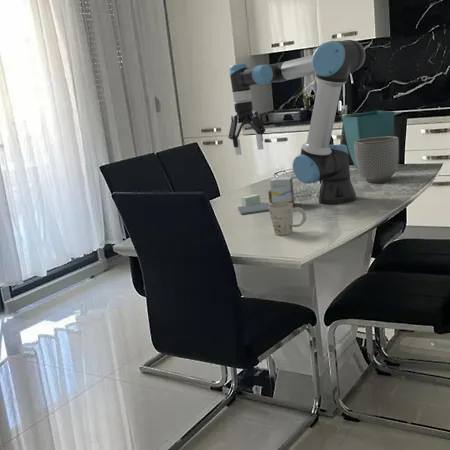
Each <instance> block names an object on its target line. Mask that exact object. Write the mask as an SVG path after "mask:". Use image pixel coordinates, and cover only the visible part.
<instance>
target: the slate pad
mask: <svg viewBox="0 0 450 450" xmlns="http://www.w3.org/2000/svg"><path fill="white" fill-rule="evenodd" d="M269 205H270V202H264V203H260V204H256V205H249V206H242V205H241V206H238V207H237V209H238V211H239V214H240V215H242V216H243V215H251V214H258V213H264V212H269Z"/></svg>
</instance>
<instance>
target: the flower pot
mask: <svg viewBox="0 0 450 450" xmlns="http://www.w3.org/2000/svg"><path fill="white" fill-rule="evenodd" d="M341 118H342V124H343V125H342V126H343V130H344V135H345V140H346V146H347V149H348V153H349V156H350V157H351V160H352V162H353V164H354V165H353V166H354V167H355V169H356V168H357V163H356V157H355V150H354V141H356V140H360V139H365V138H372V137H384V136H395V111H390V110H372V111H366V112H359V113H353V114H348V115H342V116H341ZM356 170H358V168H357V169H356Z"/></svg>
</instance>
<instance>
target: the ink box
mask: <svg viewBox="0 0 450 450" xmlns="http://www.w3.org/2000/svg"><path fill="white" fill-rule="evenodd" d="M269 183H270V184H269V185H270V190H271V195H272V202H271V204H274V203H280V202H291V203H293V206H294V205H295V195H294V184H293V183H294V182H293V176H292V175H289V176H277V177H272V178H271V179H270V180H269Z"/></svg>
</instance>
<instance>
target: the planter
mask: <svg viewBox="0 0 450 450" xmlns="http://www.w3.org/2000/svg"><path fill="white" fill-rule="evenodd" d="M354 150H355V157H356V163H357V168H358V169H357V170H358V173H359V175H360V176H361V177H362V178H364V179H365V181H366V182H367V183H370V184H371V183H372V184H375V183H376V184H378V183H379V184H380V183H385V182H389V181H391V179H392V177H393V176H394V175H395V174H396V172H397V169H398V166H399V137H398V136H395V135H394V136H384V137H372V138H365V139H360V140H356V141H354Z"/></svg>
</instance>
